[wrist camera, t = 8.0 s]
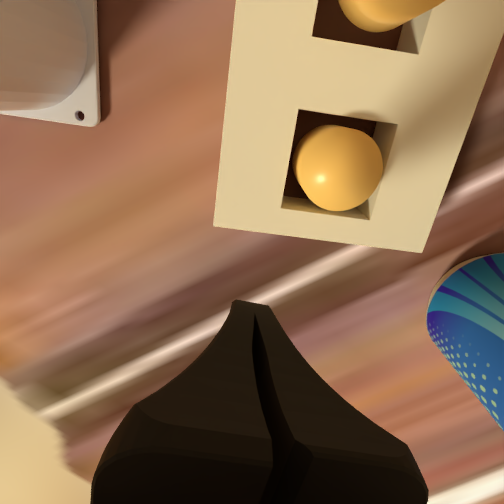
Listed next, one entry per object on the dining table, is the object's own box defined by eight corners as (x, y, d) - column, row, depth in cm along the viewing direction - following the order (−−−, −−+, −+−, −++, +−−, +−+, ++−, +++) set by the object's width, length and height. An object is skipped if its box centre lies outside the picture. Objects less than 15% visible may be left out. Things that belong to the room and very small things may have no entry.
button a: (286, 190, 20) (293, 205, 17) (300, 119, 19) (310, 122, 16) (351, 199, 20) (370, 215, 17) (369, 130, 19) (393, 134, 16)
